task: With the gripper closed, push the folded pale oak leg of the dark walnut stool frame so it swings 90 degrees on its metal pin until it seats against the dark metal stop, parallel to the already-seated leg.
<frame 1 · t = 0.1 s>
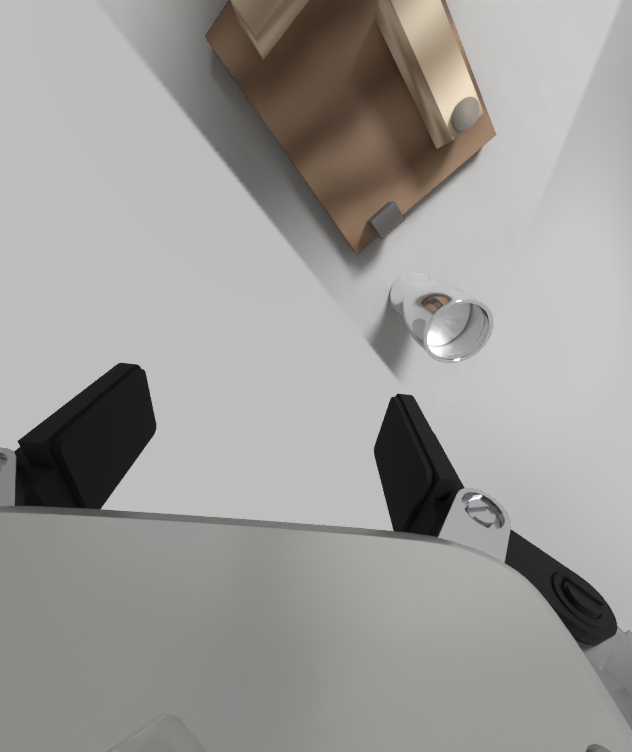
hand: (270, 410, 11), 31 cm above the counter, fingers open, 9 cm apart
stool frame: (357, 96, 29), on the counter
beer glass: (410, 293, 39), on the counter
hinged leg: (430, 64, 24), point 5 cm above the counter, hinge at 0.0°
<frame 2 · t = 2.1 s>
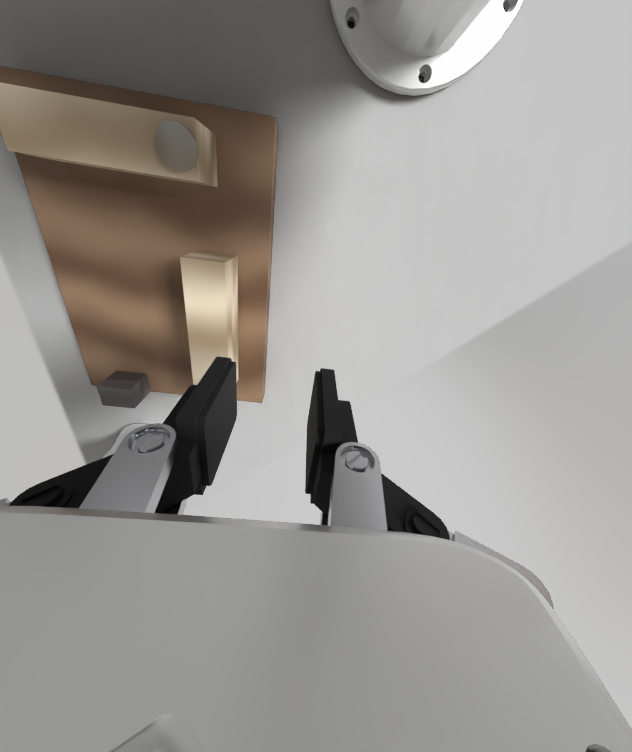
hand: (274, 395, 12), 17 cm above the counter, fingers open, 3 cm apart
stool frame: (172, 276, 26), on the counter
hinged leg: (214, 332, 24), point 5 cm above the counter, hinge at 0.0°
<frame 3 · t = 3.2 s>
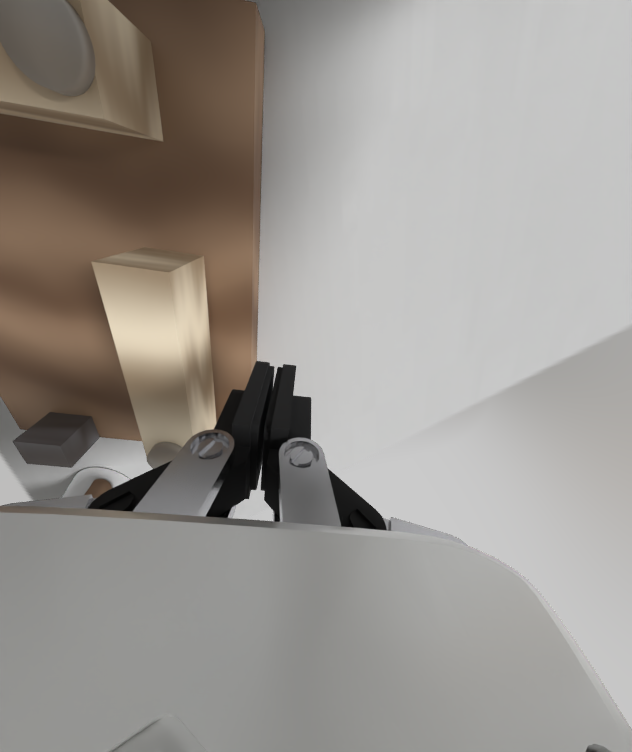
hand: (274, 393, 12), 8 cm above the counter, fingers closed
stool frame: (116, 284, 18), on the counter
beer glass: (109, 484, 29), on the counter
hinged leg: (171, 372, 16), point 5 cm above the counter, hinge at 0.0°
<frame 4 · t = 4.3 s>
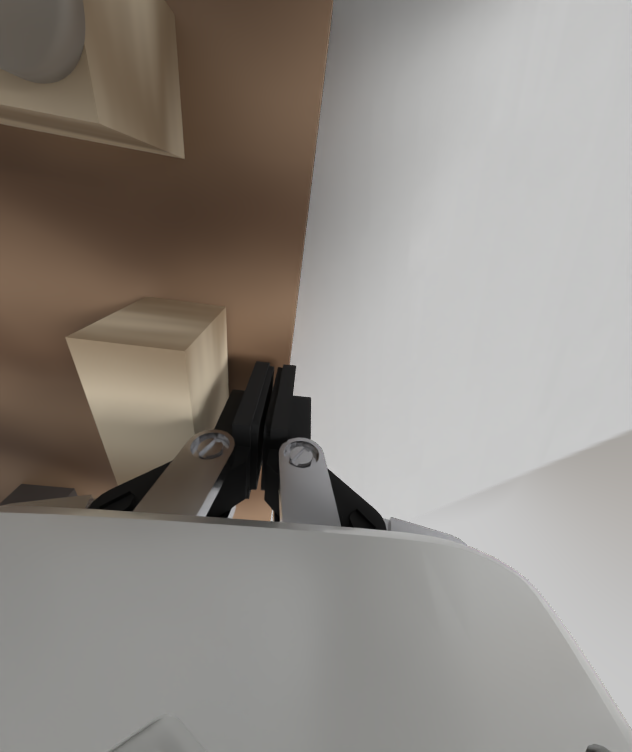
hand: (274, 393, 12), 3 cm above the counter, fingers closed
stool frame: (111, 333, 14), on the counter
hinged leg: (179, 456, 12), point 5 cm above the counter, hinge at 1.1°, touching gripper
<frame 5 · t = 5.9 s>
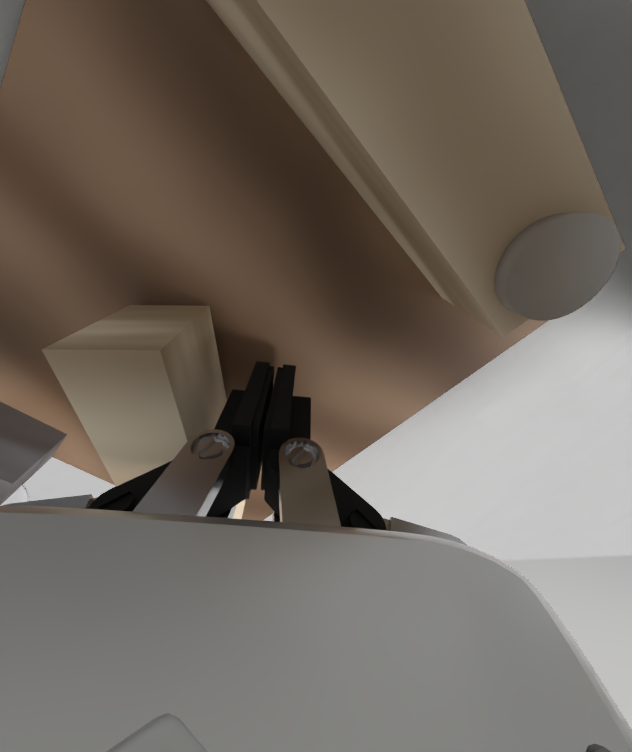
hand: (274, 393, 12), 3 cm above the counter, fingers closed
stool frame: (237, 327, 13), on the counter
hinged leg: (182, 462, 12), point 5 cm above the counter, hinge at 43.1°, touching gripper
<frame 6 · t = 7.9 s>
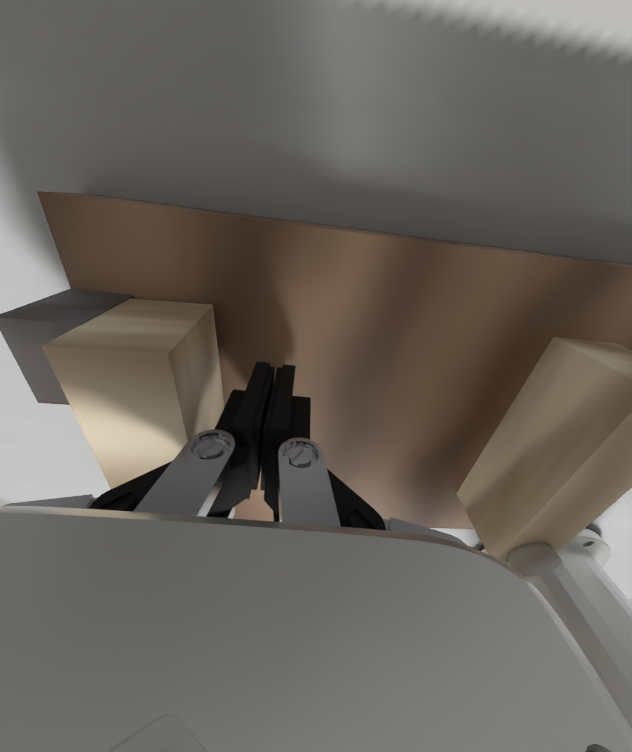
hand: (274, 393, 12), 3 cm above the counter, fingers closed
stool frame: (351, 405, 16), on the counter
hinged leg: (176, 461, 11), point 5 cm above the counter, hinge at 91.7°, touching gripper, stool frame
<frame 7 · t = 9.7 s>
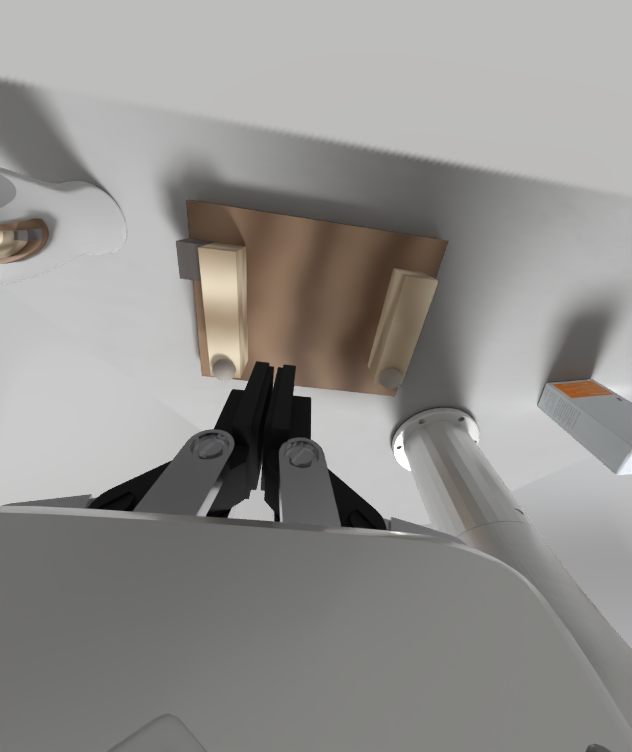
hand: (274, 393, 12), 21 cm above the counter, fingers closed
skincare box: (561, 391, 38), on the counter
stool frame: (310, 310, 31), on the counter
beer glass: (95, 220, 26), on the counter
hinged leg: (226, 315, 27), point 5 cm above the counter, hinge at 91.5°
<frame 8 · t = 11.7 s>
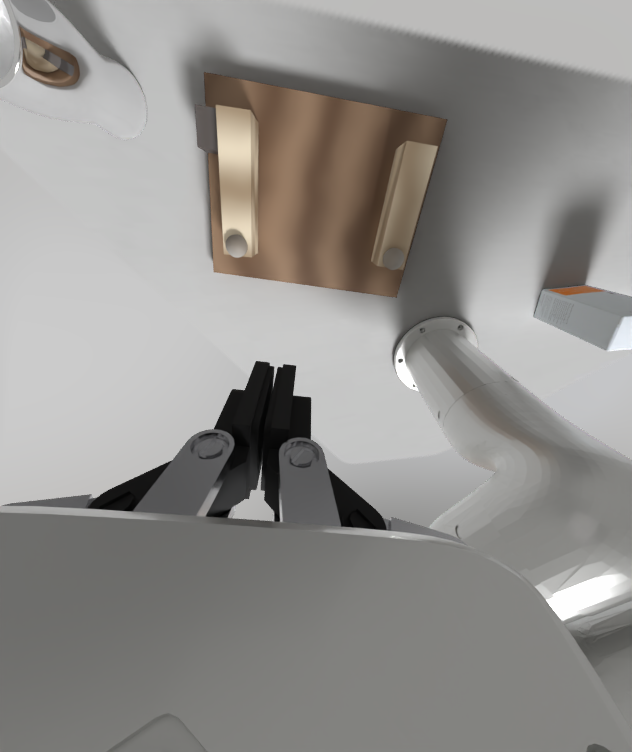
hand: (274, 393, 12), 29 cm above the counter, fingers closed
skincare box: (556, 300, 39), on the counter
stool frame: (316, 205, 33), on the counter
beer glass: (118, 102, 28), on the counter
hinged leg: (239, 191, 28), point 5 cm above the counter, hinge at 91.5°
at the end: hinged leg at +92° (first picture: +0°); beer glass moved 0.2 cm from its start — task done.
